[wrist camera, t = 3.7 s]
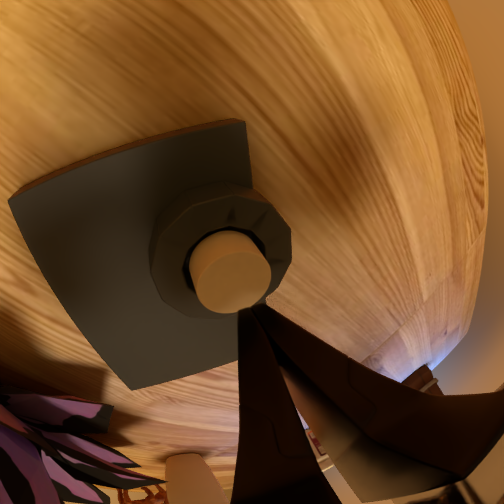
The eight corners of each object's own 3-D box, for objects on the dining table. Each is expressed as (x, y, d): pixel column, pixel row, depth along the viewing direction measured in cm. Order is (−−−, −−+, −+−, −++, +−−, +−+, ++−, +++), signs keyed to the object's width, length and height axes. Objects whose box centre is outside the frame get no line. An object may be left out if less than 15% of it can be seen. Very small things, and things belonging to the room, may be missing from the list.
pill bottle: (292, 441, 41) (311, 477, 34) (290, 436, 38) (311, 475, 31) (316, 430, 41) (336, 464, 35) (315, 424, 39) (338, 462, 32)
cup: (183, 466, 32) (201, 518, 24) (144, 462, 27) (161, 522, 19) (221, 451, 32) (244, 508, 24) (183, 447, 27) (206, 515, 19)
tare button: (252, 221, 10) (269, 241, 9) (259, 277, 12) (273, 299, 11) (180, 242, 10) (187, 266, 9) (197, 297, 11) (206, 322, 10)
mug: (423, 362, 47) (461, 409, 35) (428, 367, 54) (460, 406, 42) (369, 409, 49) (402, 457, 38) (383, 407, 57) (411, 447, 45)
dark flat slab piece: (253, 115, 11) (285, 122, 8) (274, 329, 19) (292, 361, 17) (18, 188, 8) (-11, 217, 6) (129, 374, 16) (134, 411, 14)
